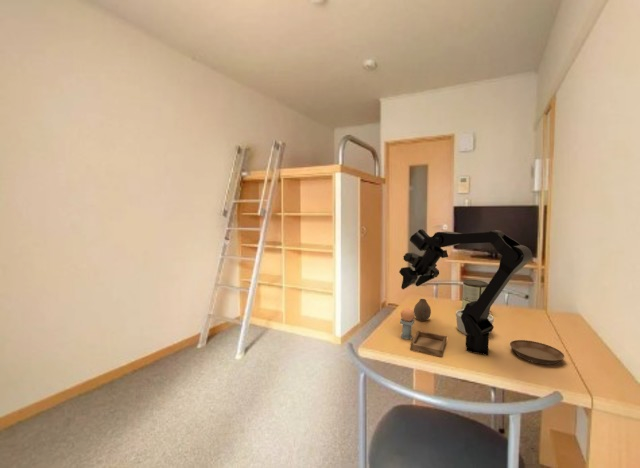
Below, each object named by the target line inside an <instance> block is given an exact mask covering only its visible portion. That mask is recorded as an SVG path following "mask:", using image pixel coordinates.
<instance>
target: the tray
mask: <svg viewBox="0 0 640 468" xmlns="http://www.w3.org/2000/svg"><path fill="white" fill-rule="evenodd" d="M447 337H448V336H447V335H442V334H438V333H432V332H428V331H423V330H422V331H421V330H417V332H416V333H415V335H414V337H413V338H412V339H411V340H412V341H411V343H410V346H409V347H410V349H409V351H413V352H417V353H422V354H425V355H431V356H435V357H439V358H442V357H443V354H444V352H445V349H446V344H447V340H448V338H447Z"/></svg>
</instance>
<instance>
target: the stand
mask: <svg viewBox="0 0 640 468" xmlns="http://www.w3.org/2000/svg"><path fill="white" fill-rule="evenodd" d="M400 318H401V317H400ZM415 321H416V320H415V318H414V319H413V320H412V321H410V322H408V321H404V320H403V319H402V318H401V319H400V320H399V324H400V325H402V330H401V331H402V332H401V334H400V337H401V338H402V339H404V340H413V335H412V328H413V326H414V324H415Z"/></svg>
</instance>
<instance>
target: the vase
mask: <svg viewBox="0 0 640 468" xmlns="http://www.w3.org/2000/svg"><path fill="white" fill-rule="evenodd" d="M413 311H414V313H415V317H414V318H416V320H418V321H421V322H426V321H428V320H429V319H430V317H431V314H432V309H431V306H430V305H429V303H428V301H427V300H426V299H425V298H419V300H418V302H416V304H415V305H414V308H413Z"/></svg>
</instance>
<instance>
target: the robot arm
mask: <svg viewBox="0 0 640 468" xmlns="http://www.w3.org/2000/svg"><path fill="white" fill-rule="evenodd" d="M409 242H410V243H411V244H412V245H413V246H415V247H416V248H417V249H418V250H419V251H420V252H423V251H424V253H423V254H422V255H420V254H417V253H415V252H406V253H404V255H403V260H404V262H408V263H410V264H411V267H410V266H405V267H401V268H400V270H399V271H398V273H399V274H400V275H401V276H402V282H401V287H400V288H401V290H405V289H407V288H408V287H410V286H412V285H413V284H415V286H416V287H420V285H422V284H425V283H427V282H430V281H431V280H434V279H435V278H438V276H439V275H440V270H439V268H437V262H439V260H440V259H445V258H449V254H448V250H447V249H445V250H444V249H443V248H448V247H449V248H450V247H454V246H457V245H461V244H463V245H465V244H482V243H483V244H487V243H490V244H491V245H492V246H493V247H494V249H495V250H496V251H497V253H499V254H500V256H501V257H500V260H499V265H498V266H499V267H498V269H497V271H496V272H495V273H494V275H493V277H492V278H491V279H490V281H489V282H488V285H487V287H486V288H485V290H484V291H483V293H482V294H481V295H480V297H479V298H478V300H477V301H473V302H470V303H467V304H466V306H465V308H464V310H463V311H461V313H462V315H461V319H462V322H463V324H464V327H465V331H466V333H467V334H465V347H466V351H467V352H470V353H474V354H479V355H485V356H489V344H490V343H489V341H490V334H489V332H490V333H492V332H493V330H494V325H493V323H492V324H491V322H490V321H489V320H488V316H489V314H491V313H490V312H491V307H492V305H493V304H494V303H495V301H496V300H497V299H498V298H499V296H500V294H501V293H502V292H503V290H504V289H505V287H507V284H509V282H510V280H511V279H512V277H513V276H514V275H515V274H517V272H519V271H521V270H522V269H523V268H524V267H525V266H526V265H527V264H528V263H529V262H530V261H531V260H532V259H533V253H532V250H531V249H530V248H529V247H527V246H526V245H523V244H520V243H519V242H518V241H517V240H515V239H513V238H512V237H510V236H509V235H507V234H505V233H504V232H503V231H502V230H496V229H495V230H490V231H479V232H478V231H477V232H461V233H460V232H456V231H448V230H446V231H437V232H434V234H433V235H432V236H430V235H429V234H428V233H426V231H425V230H424V229H418V231H416V232H415V233H414V234H412V235H411V236H410V238H409ZM412 268H414V270H413V269H412Z"/></svg>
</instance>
